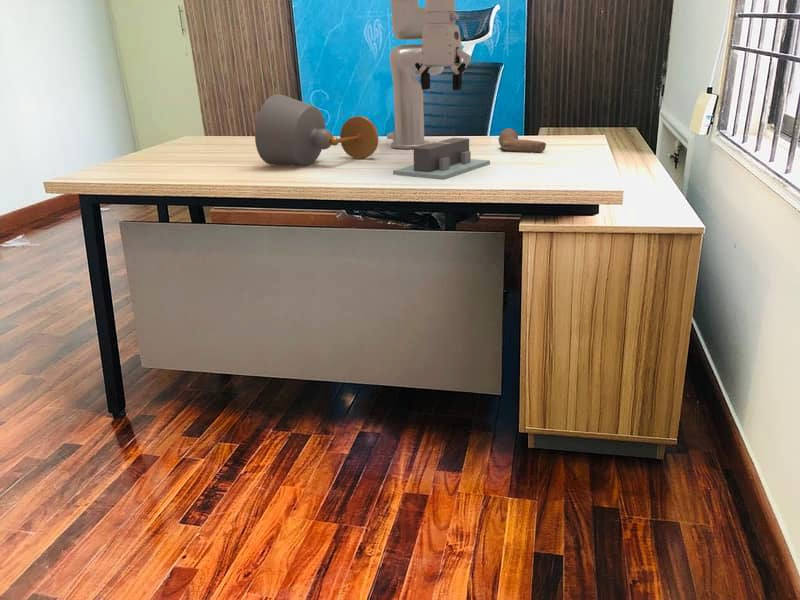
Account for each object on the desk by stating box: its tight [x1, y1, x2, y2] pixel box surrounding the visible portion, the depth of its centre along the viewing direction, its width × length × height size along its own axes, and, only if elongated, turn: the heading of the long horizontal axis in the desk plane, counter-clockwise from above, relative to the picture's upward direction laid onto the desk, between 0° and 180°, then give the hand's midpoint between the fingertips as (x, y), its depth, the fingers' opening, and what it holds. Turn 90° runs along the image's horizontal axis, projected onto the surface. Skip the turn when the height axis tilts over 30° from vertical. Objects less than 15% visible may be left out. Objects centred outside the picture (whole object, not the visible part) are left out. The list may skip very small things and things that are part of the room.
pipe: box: [498, 127, 547, 154], centre depth 216 cm, size 6×17×10 cm
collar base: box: [392, 150, 491, 180], centre depth 190 cm, size 16×24×4 cm, turn 144°
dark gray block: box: [412, 137, 470, 172], centre depth 190 cm, size 20×5×6 cm, turn 144°
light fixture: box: [254, 93, 379, 167], centre depth 203 cm, size 20×25×27 cm
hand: (441, 89), depth 184 cm, fingers open, 9 cm apart
